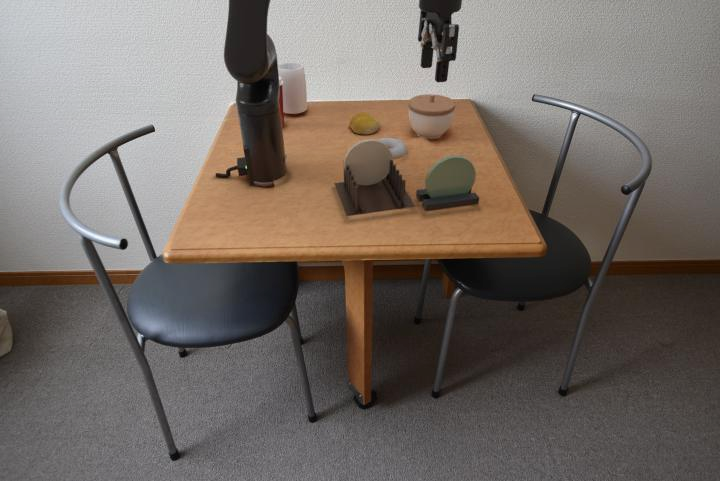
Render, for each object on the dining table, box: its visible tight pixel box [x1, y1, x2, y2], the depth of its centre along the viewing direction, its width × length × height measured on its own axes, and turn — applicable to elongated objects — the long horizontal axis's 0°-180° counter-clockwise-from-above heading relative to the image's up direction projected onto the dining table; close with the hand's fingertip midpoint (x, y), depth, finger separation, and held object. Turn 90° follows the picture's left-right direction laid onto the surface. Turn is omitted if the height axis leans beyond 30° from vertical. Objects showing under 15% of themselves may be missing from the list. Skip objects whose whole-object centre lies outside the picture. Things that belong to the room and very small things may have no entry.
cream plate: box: [343, 138, 394, 186], centre depth 105 cm, size 11×1×11 cm, turn 103°
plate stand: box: [415, 187, 480, 212], centre depth 103 cm, size 12×6×3 cm, turn 103°
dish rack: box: [334, 159, 416, 217], centre depth 104 cm, size 15×14×8 cm
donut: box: [376, 137, 408, 160], centre depth 122 cm, size 10×4×10 cm
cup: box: [278, 61, 308, 115], centre depth 143 cm, size 8×8×14 cm
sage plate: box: [424, 154, 477, 198], centre depth 100 cm, size 11×1×11 cm, turn 103°
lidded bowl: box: [407, 93, 456, 140], centre depth 130 cm, size 13×13×11 cm
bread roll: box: [348, 112, 380, 135], centre depth 135 cm, size 8×9×4 cm
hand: (433, 74), depth 92 cm, fingers open, 8 cm apart
